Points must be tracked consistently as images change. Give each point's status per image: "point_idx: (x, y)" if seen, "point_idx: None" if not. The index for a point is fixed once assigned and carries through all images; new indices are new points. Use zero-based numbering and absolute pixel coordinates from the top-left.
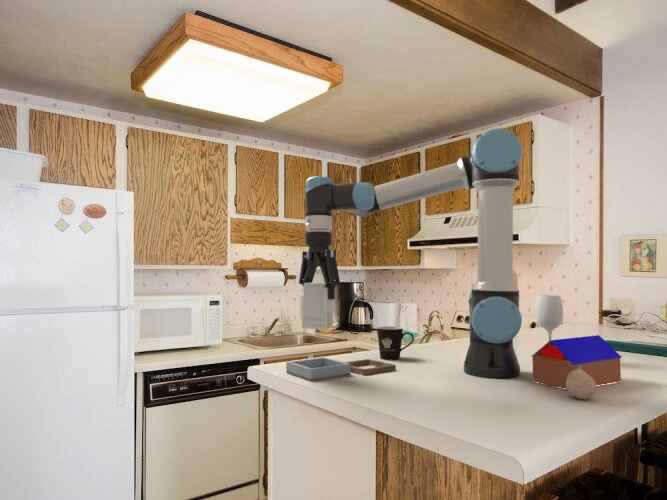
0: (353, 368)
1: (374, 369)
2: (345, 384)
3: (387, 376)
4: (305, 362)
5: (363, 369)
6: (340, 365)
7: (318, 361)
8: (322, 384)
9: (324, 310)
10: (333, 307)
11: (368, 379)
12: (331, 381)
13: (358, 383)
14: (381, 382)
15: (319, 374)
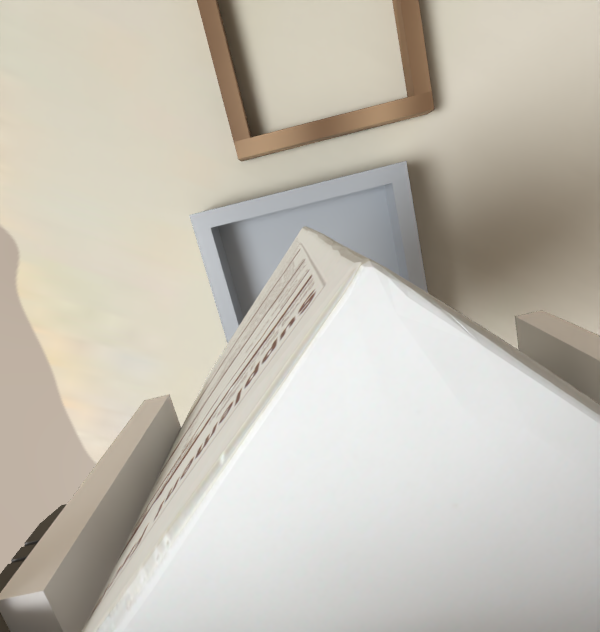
0: (359, 129)
1: (420, 36)
2: (530, 252)
3: (491, 11)
4: (239, 323)
5: (425, 103)
6: (415, 220)
7: (221, 255)
8: (489, 329)
9: None
10: (564, 326)
11: (501, 127)
12: (462, 283)
13: (541, 199)
14: (574, 99)
15: None
